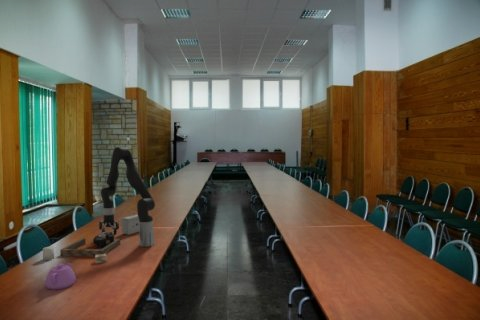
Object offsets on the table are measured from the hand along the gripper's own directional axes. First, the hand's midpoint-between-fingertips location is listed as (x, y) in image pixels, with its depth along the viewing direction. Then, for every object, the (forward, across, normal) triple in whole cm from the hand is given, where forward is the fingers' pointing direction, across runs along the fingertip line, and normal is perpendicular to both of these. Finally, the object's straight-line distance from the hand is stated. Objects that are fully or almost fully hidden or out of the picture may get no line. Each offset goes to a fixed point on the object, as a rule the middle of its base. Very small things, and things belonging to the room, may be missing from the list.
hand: (109, 235), depth 254 cm
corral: (+3, 0, +25) cm, 25 cm away
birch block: (+3, -17, +46) cm, 49 cm away
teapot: (+3, -13, +79) cm, 80 cm away
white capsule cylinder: (+3, +18, +44) cm, 48 cm away
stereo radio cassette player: (+4, -11, -22) cm, 25 cm away
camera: (+4, -3, +16) cm, 16 cm away
